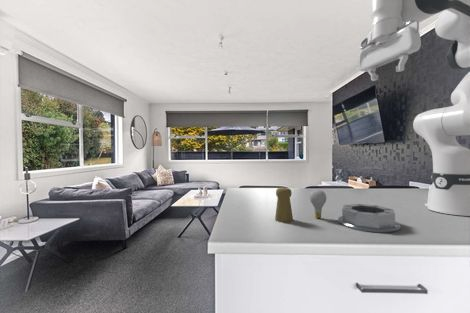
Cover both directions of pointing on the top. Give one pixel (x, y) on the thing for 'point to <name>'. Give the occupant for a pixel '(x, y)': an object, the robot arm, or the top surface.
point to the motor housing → (369, 218)
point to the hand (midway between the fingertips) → (386, 76)
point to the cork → (283, 205)
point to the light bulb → (318, 201)
